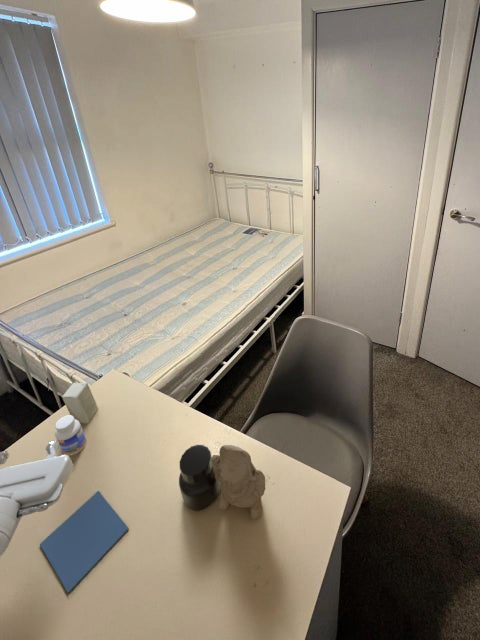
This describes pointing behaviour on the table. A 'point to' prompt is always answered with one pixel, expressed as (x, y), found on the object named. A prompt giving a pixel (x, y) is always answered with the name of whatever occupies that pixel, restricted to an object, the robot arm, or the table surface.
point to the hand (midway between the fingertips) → (29, 447)
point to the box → (80, 402)
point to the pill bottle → (70, 435)
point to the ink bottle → (198, 478)
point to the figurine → (238, 480)
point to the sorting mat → (83, 540)
